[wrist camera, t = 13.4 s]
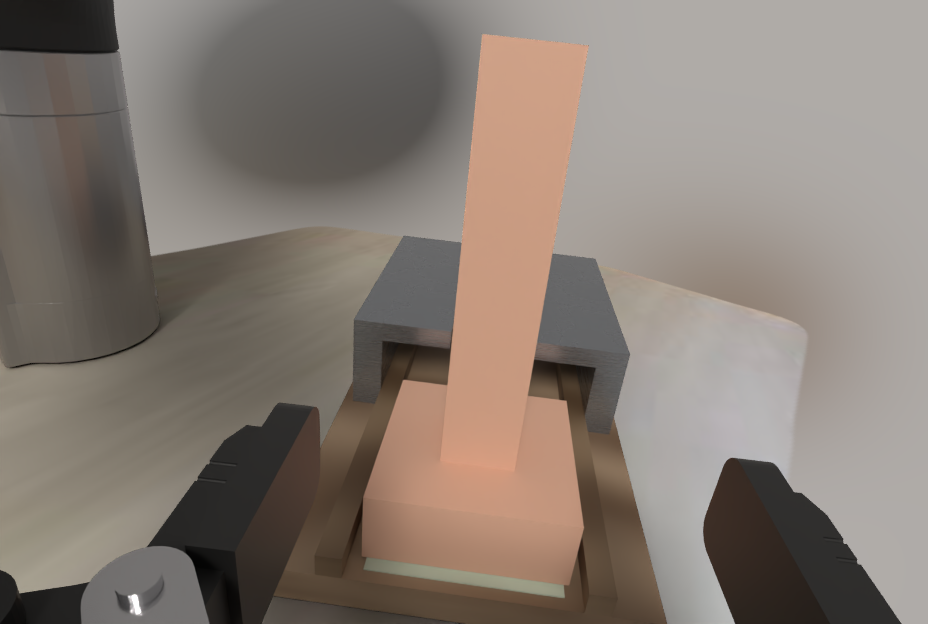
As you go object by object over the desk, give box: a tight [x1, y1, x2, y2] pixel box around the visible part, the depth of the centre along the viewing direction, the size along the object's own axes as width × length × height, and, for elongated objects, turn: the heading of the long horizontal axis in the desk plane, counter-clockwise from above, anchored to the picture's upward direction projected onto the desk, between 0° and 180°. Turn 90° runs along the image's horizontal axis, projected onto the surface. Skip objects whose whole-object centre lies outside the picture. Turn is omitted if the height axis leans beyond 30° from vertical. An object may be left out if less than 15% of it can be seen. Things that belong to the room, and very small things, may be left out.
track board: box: [273, 341, 667, 624], centre depth 37 cm, size 36×15×2 cm, turn 175°
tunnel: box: [353, 236, 630, 435], centre depth 36 cm, size 14×14×5 cm
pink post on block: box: [362, 34, 588, 586], centre depth 21 cm, size 8×8×18 cm
